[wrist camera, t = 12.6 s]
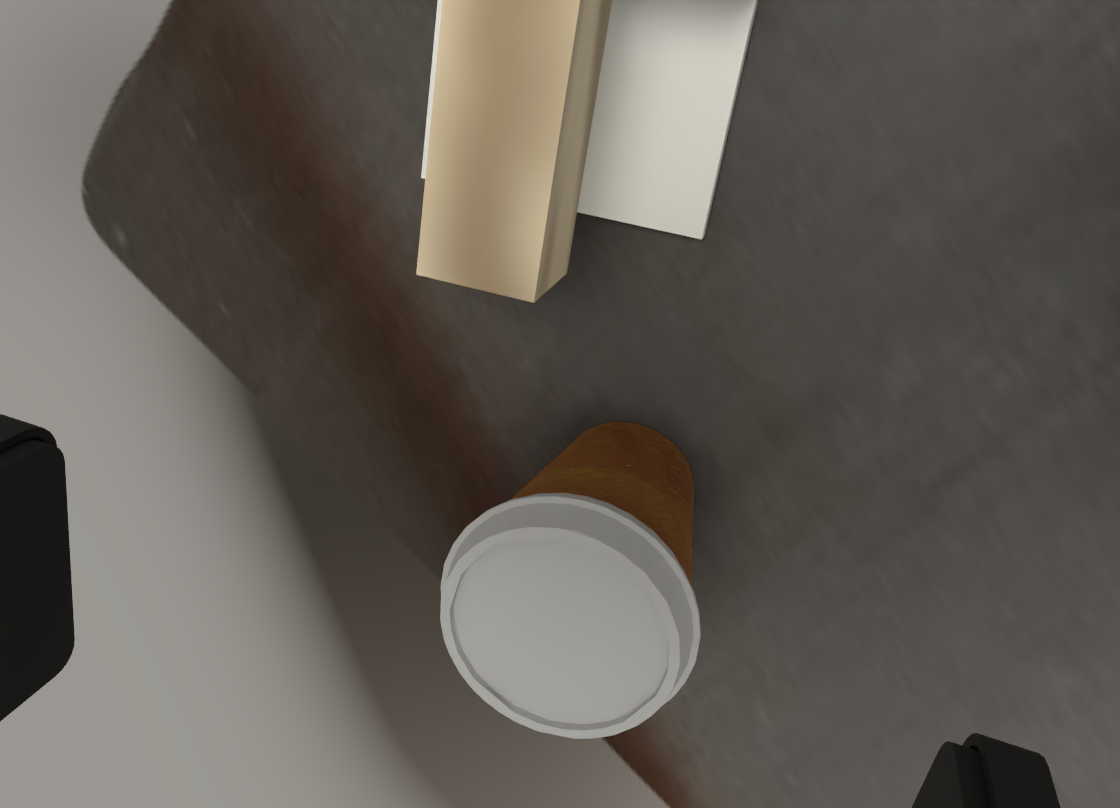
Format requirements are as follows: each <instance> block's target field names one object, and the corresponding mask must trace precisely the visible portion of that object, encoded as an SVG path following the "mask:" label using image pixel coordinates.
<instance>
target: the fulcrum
mask: <svg viewBox="0 0 1120 808" xmlns="http://www.w3.org/2000/svg"><path fill="white" fill-rule="evenodd" d="M442 1H443V0H438V4H437V14H436V25H435V36H434V46H433V57H432V68H431V78H430V89H429V100H428V110H427V121H426V131H425V142H424V153H423V163H422V174H421V178H424V179H425V178H426V168H427V157H428V147H429V137H430V126H431V116H432V105H433V95H434V84H435V74H436V64H437V53H438V43H439V32H440V22H441V12H442ZM757 3H758V0H612V5H611V11H610V17H609V23H608V29H607V35H606V41H605V47H604V53H603V59H602V65H601V71H600V77H599V83H598V89H597V95H596V101H595V107H594V113H593V119H592V125H591V131H590V137H589V143H588V149H587V155H586V161H585V167H584V173H583V179H582V185H581V191H580V197H579V203H578V209H577V212H579V213H583V214H588V215H592V216H597V217H601V218H606V219H610V220H615V221H620V222H624V223H629V224H633V225H638V226H642V227H647V228H651V229H656V230H661V231H665V232H670V233H674V234H679V235H683V236H688V237H692V238H697V239H701V240H702V239H703V237H704V235H705V232H706V228H707V223H708V219H709V215H710V210H711V206H712V201H713V197H714V193H715V188H716V184H717V179H718V175H719V171H720V166H721V162H722V157H723V153H724V148H725V144H726V140H727V135H728V131H729V126H730V122H731V118H732V113H733V109H734V104H735V100H736V96H737V91H738V87H739V82H740V78H741V73H742V69H743V65H744V60H745V56H746V51H747V47H748V43H749V38H750V34H751V29H752V25H753V21H754V16H755V12H756V7H757Z"/></svg>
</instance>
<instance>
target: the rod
mask: <svg viewBox="0 0 1120 808" xmlns="http://www.w3.org/2000/svg"><path fill="white" fill-rule="evenodd" d="M611 5H612V0H443V1H442V12H441V22H440V32H439V43H438V53H437V64H436V74H435V84H434V95H433V105H432V116H431V126H430V137H429V147H428V157H427V168H426V178H425V189H424V199H423V210H422V220H421V230H420V241H419V251H418V262H417V272H416V275H421V276H425V277H429V278H433V279H437V280H441V281H445V282H450V283H454V284H458V285H462V286H466V287H470V288H475V289H479V290H483V291H487V292H491V293H495V294H499V295H504V296H508V297H512V298H516V299H520V300H524V301H529V302H533V303H534V302H535V301H536V300H538V299H539V298H540V297H541V296H542V295H543V294H544V293H545V292H547V291H548V290H549V289H550V288H551V287H552V286H553V285H554V284H555V283H557V282H558V281H559V280H560V279H561V278H562V277H563V276H564V275H566V274H567V270H568V264H569V258H570V252H571V246H572V240H573V234H574V227H575V221H576V215H577V209H578V203H579V197H580V191H581V185H582V179H583V173H584V167H585V161H586V155H587V149H588V143H589V137H590V131H591V125H592V119H593V113H594V107H595V101H596V95H597V89H598V83H599V77H600V71H601V65H602V59H603V53H604V47H605V41H606V35H607V29H608V23H609V17H610V11H611Z"/></svg>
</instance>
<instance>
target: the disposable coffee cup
mask: <svg viewBox="0 0 1120 808" xmlns="http://www.w3.org/2000/svg"><path fill="white" fill-rule="evenodd" d="M693 505H694V482H693V476H692V472H691V469H690V466H689V464H688V462H687V461H686V459H685V457H684V455H683V454H682V453H681V451H680V450H679V449H678V447H677V446H676V445H675V444H674V443H672V442H671V441H670V440H669V439H667V438H666V437H665V436H664V435H662V434H661V433H659V432H657V431H655V430H654V429H652V428H649V427H646V426H643V425H640V424H637V423H629V422H609V423H605V424H601V425H597V426H595V427H593V428H591V429H589V430H586V431H585V432H584V433H582V434H581V435H580V436H578V437H577V438H576V439H575V440H574V441H573V442H572V443H571V444H570V445H569V446H568V447H567V448H566V449H565V450H564V451H563V452H561V453H560V454H559V455H558V456H557V457H556V458H555V459H554V460H553V461H552V462H551V463H549V464H548V465H547V466H546V467H545V468H544V469H543V470H542V471H541V472H540V473H539V474H538V475H536V476H535V477H534V478H533V479H532V480H531V481H530V482H529V483H528V484H527V485H526V486H525V487H523V488H522V489H521V490H520V491H519V492H518V493H517V494H516V495H515V496H514V497H513V498H512V499H510V500H509V501H507V502H505V503H502V504H500V505H498V506H495V507H493V508H491V509H488V510H487V511H486V512H484V513H483V514H482V515H481V516H479V517H478V518H477V519H476V520H474V521H473V522H472V523H471V524H469V525H468V526H467V527H466V528H465V529H464V531H463V532H462V533H461V535H460V536H459V537H458V538H457V540H456V541H455V542H454V544H453V546H452V548H451V550H450V552H449V554H448V557H447V559H446V561H445V563H444V569H443V575H442V581H441V621H440V622H441V627H442V632H443V637H444V641H445V644H446V647H447V649H448V652H449V654H450V656H451V658H452V660H453V661H454V663H455V665H456V667H457V669H458V671H459V672H460V674H461V675H462V676H463V678H464V679H465V680H466V682H467V683H468V684H469V685H470V687H471V688H472V689H473V690H474V691H475V692H476V693H477V694H478V695H479V696H480V697H481V698H482V699H483V700H484V701H486V702H487V703H488V704H489V705H491V706H492V707H493V708H495V709H496V710H497V711H498V712H500V713H501V714H503V715H505V716H507V717H508V718H510V719H512V720H513V721H515V722H517V723H519V724H522V725H524V726H527V727H529V728H531V729H534V730H536V731H540V732H544V733H549V734H554V735H559V736H564V737H569V738H599V737H605V736H612V735H616V734H618V733H621V732H623V731H626V730H628V729H630V728H633V727H635V726H638V725H639V724H640V723H642V722H643V721H645V720H646V719H648V718H649V717H651V716H652V715H653V714H654V713H655V712H656V711H657V710H658V709H659V708H660V707H661V706H662V705H664V704H665V703H666V702H667V701H669V700H670V699H671V698H673V697H674V696H675V694H676V693H677V692H678V691H679V689H680V688H681V687H682V686H683V684H684V683H685V682H686V680H687V678H688V676H689V674H690V672H691V670H692V668H693V666H694V664H695V662H696V658H697V652H698V647H699V641H700V636H701V634H700V616H699V610H698V606H697V601H696V597H695V593H694V591H693V589H692V585H691V582H692V575H691V574H692V554H693V553H692V549H693V511H694V507H693Z"/></svg>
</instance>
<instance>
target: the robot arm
mask: <svg viewBox="0 0 1120 808" xmlns="http://www.w3.org/2000/svg"><path fill="white" fill-rule="evenodd" d="M72 603H73V602H72V585H71V566H70V548H69V530H68V512H67V493H66V477H65V460H64V456H63V453H62V452H61V450H60V449H59V448H57V445H56V440H55V438H54V437H53V435H52V434H51V433H50V432H49V431H48V430H46V429H44V428H42V427H38V426H36V425H33V424H29V423H26V422H23V421H20V420H17V419H14V418H11V417H8V416H5V415H0V721H1V720H2V719H4V718H5V717H6V716H7V715H9V714H10V713H11V712H12V711H13V710H15V709H16V708H17V707H18V706H20V705H21V704H22V703H23V702H24V701H26V700H27V699H28V698H29V697H31V696H32V695H33V694H34V693H35V692H37V691H38V690H39V689H40V688H41V687H43V686H44V685H45V684H46V683H47V682H49V681H50V680H51V679H52V678H54V677H55V676H56V675H57V674H58V673H59V672H60V671H61V670H62V669H63V668H64V666H65V665H66V663H67V662H68V660H69V658H70V656H71V654H72V650H73V648H74V621H73V604H72ZM912 808H1060V805H1059V801H1058V798H1057V794H1056V791H1055V788H1054V784H1053V781H1052V777H1051V774H1050V770H1049V767H1048V765H1047V762H1046V760H1045V758H1044V757H1043V756H1041V755H1040V754H1039V753H1036V752H1033V751H1030V750H1027V749H1024V748H1021V747H1018V746H1014V745H1011V744H1008V743H1005V742H1002V741H999V740H996V739H993V738H990V737H987V736H984V735H981V734H978V733H976V734H971V735H970V736H969V737H968V738H967V739H966V741H965V742H964V744H963V746H962V745H959V744H956V743H953V742H945V743H944V744H943V745H942V746H941V748H940V750H939V752H938V753H937V756H936V758H935V760H934V762H933V764H932V766H931V768H930V770H929V772H928V774H927V777H926V779H925V781H924V783H923V785H922V787H921V789H920V791H919V793H918V795H917V797H916V800H915V802H914V804H913V806H912Z"/></svg>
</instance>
